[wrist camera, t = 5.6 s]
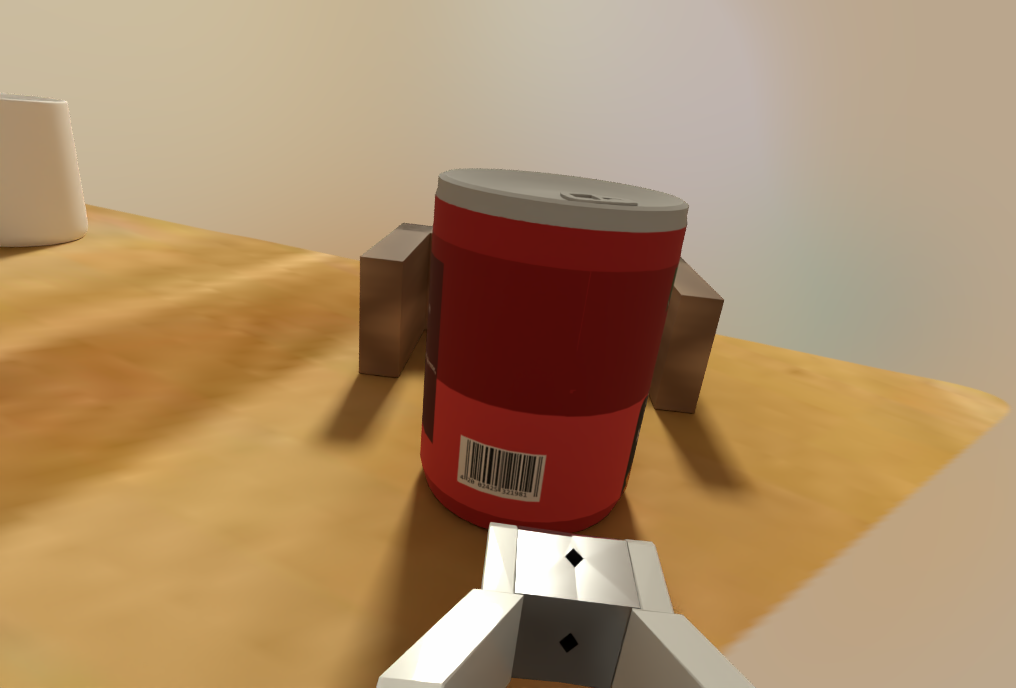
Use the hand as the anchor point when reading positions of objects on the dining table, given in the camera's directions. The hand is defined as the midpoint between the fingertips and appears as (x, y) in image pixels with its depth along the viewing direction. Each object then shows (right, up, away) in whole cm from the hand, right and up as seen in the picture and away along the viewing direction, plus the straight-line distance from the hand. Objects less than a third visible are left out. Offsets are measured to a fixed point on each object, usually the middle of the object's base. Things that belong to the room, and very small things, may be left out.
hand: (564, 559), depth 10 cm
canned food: (0, -1, +12) cm, 12 cm away
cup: (-39, +12, +32) cm, 52 cm away
